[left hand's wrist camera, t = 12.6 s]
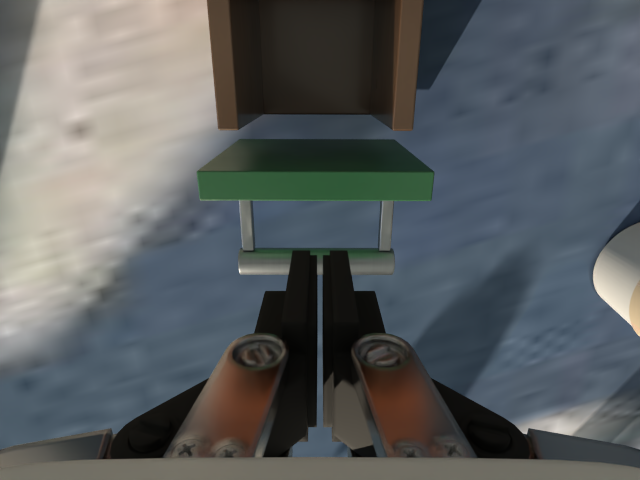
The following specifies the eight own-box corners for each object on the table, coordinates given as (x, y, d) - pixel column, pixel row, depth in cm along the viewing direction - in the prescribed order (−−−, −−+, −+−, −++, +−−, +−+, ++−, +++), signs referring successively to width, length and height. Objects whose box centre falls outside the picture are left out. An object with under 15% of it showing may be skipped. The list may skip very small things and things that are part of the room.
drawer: (387, 240, 27) (419, 315, 18) (246, 240, 27) (212, 314, 18) (417, -195, 19) (498, -421, 10) (216, -196, 19) (130, -423, 10)
